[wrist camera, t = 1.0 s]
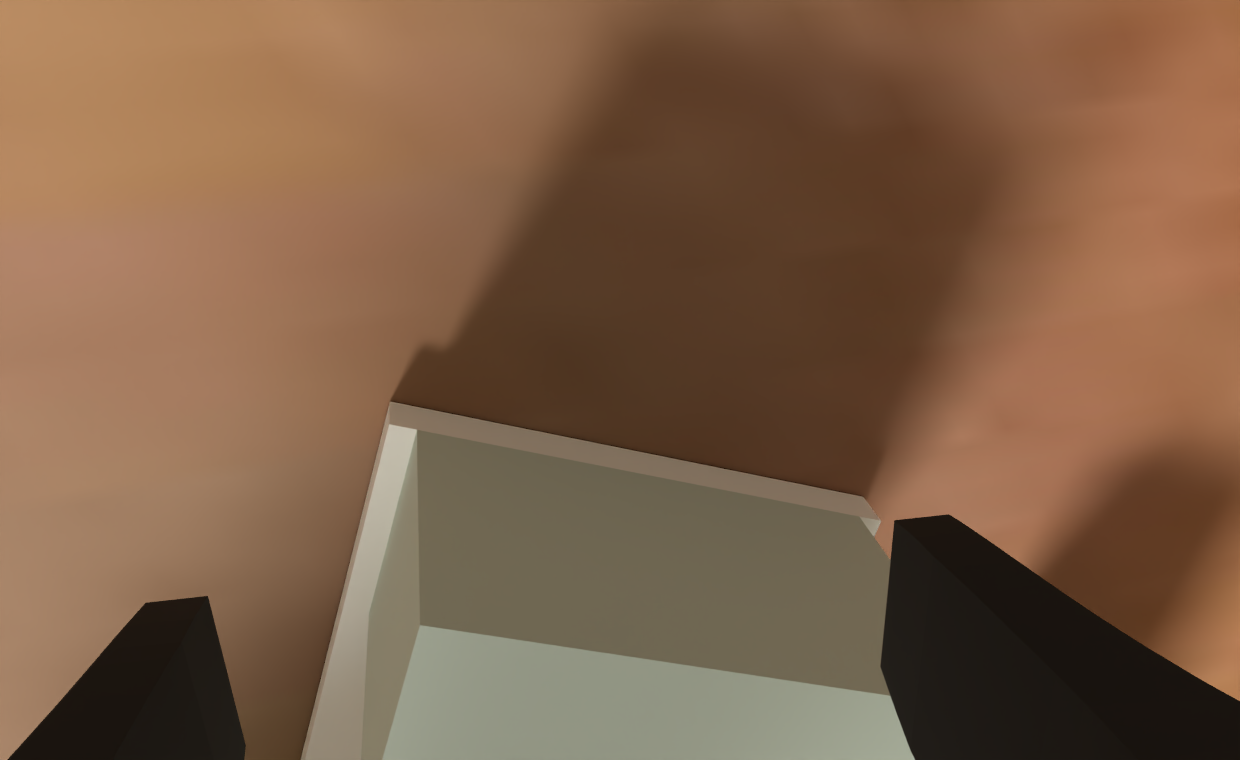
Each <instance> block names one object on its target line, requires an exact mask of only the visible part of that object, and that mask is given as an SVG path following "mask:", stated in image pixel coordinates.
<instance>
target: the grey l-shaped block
mask: <svg viewBox="0 0 1240 760" xmlns="http://www.w3.org/2000/svg"><path fill="white" fill-rule="evenodd" d="M880 522H881V520H880V519H879V517H878V516H877V515H876V513H875V512H874V511H873V509H872V508H871V507H870V505H869V504H868V503H867V501H866V500H865V498H864V497H862V496H857V495H852V494H847V493H842V492H837V491H832V490H827V489H822V488H817V487H812V486H807V485H802V484H797V483H792V482H787V481H782V480H777V479H772V478H767V477H762V476H757V475H752V474H747V473H743V472H738V471H733V470H728V469H723V468H718V467H713V466H708V465H703V464H698V463H693V462H688V461H683V460H678V459H673V458H668V457H663V456H658V455H653V454H648V453H643V452H638V451H633V450H628V449H623V448H618V447H614V446H609V445H604V444H599V443H594V442H589V441H584V440H579V439H574V438H569V437H564V436H559V435H554V434H549V433H544V432H539V431H534V430H529V429H524V428H519V427H514V426H509V425H504V424H499V423H494V422H489V421H485V420H480V419H475V418H470V417H465V416H460V415H455V414H450V413H445V412H440V411H435V410H430V409H425V408H420V407H415V406H410V405H405V404H400V403H395V402H390V404H389V408H388V412H387V416H386V420H385V424H384V428H383V432H382V436H381V440H380V444H379V448H378V452H377V456H376V460H375V464H374V468H373V472H372V476H371V480H370V484H369V488H368V492H367V496H366V500H365V504H364V508H363V512H362V516H361V520H360V524H359V528H358V532H357V536H356V540H355V544H354V548H353V552H352V556H351V560H350V564H349V568H348V572H347V576H346V580H345V584H344V588H343V592H342V596H341V600H340V604H339V608H338V612H337V616H336V620H335V624H334V628H333V632H332V636H331V640H330V644H329V648H328V652H327V656H326V660H325V664H324V668H323V672H322V676H321V680H320V684H319V688H318V692H317V696H316V700H315V704H314V708H313V712H312V716H311V720H310V724H309V728H308V732H307V736H306V740H305V744H304V748H303V752H302V756H301V760H915V759H914V757H913V755H912V753H911V750H910V748H909V745H908V743H907V740H906V737H905V735H904V732H903V729H902V727H901V724H900V721H899V719H898V716H897V713H896V711H895V708H894V705H893V702H892V699H891V696H890V693H889V690H888V687H887V685H886V682H885V679H884V676H883V673H882V670H881V667H880V664H881V654H882V644H883V634H884V624H885V613H886V603H887V593H888V583H889V572H890V562H891V560H890V559H889V557H888V556H887V555H886V553H885V552H884V550H883V549H882V548H881V546H880V545H879V543H878V542H877V541H876V539H875V538H874V536H875V534H876V532H877V529H878V527H879V525H880Z"/></svg>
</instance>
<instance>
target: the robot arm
mask: <svg viewBox="0 0 1240 760" xmlns="http://www.w3.org/2000/svg"><path fill="white" fill-rule="evenodd" d="M880 667H881V670H882V673H883V676H884V679H885V682H886V685H887V687H888V690H889V693H890V696H891V699H892V702H893V705H894V708H895V711H896V713H897V716H898V719H899V721H900V724H901V727H902V729H903V732H904V735H905V737H906V740H907V743H908V745H909V748H910V750H911V753H912V755H913V757H914V759H915V760H1240V701H1238V700H1236V699H1235V698H1233V697H1231V696H1229V695H1227V694H1225V693H1224V692H1222V691H1220V690H1218V689H1216V688H1215V687H1213V686H1211V685H1209V684H1207V683H1206V682H1204V681H1202V680H1200V679H1199V678H1197V677H1195V676H1194V675H1192V674H1190V673H1189V672H1187V671H1185V670H1184V669H1182V668H1180V667H1179V666H1177V665H1175V664H1174V663H1172V662H1170V661H1169V660H1167V659H1165V658H1164V657H1162V656H1160V655H1159V654H1157V653H1155V652H1154V651H1152V650H1150V649H1149V648H1147V647H1145V646H1144V645H1142V644H1140V643H1139V642H1137V641H1136V640H1134V639H1133V638H1131V637H1129V636H1128V635H1126V634H1125V633H1123V632H1122V631H1120V630H1118V629H1117V628H1115V627H1114V626H1112V625H1111V624H1109V623H1108V622H1106V621H1105V620H1103V619H1102V618H1100V617H1098V616H1097V615H1095V614H1094V613H1092V612H1091V611H1089V610H1088V609H1086V608H1085V607H1083V606H1082V605H1080V604H1079V603H1078V602H1076V601H1075V600H1073V599H1072V598H1070V597H1069V596H1067V595H1066V594H1064V593H1063V592H1061V591H1060V590H1058V589H1057V588H1056V587H1054V586H1053V585H1051V584H1050V583H1048V582H1047V581H1045V580H1044V579H1042V578H1041V577H1040V576H1038V575H1037V574H1035V573H1034V572H1032V571H1031V570H1030V569H1028V568H1027V567H1025V566H1024V565H1022V564H1021V563H1020V562H1018V561H1017V560H1015V559H1014V558H1012V557H1011V556H1010V555H1008V554H1007V553H1005V552H1004V551H1002V550H1001V549H1000V548H998V547H997V546H995V545H994V544H992V543H991V542H990V541H988V540H987V539H985V538H984V537H982V536H981V535H979V534H978V533H977V532H975V531H974V530H972V529H971V528H969V527H968V526H966V525H965V524H963V523H962V522H960V521H958V520H957V519H955V518H954V517H952V516H951V515H940V516H931V517H921V518H912V519H903V520H895V521H894V531H893V542H892V552H891V562H890V572H889V583H888V593H887V603H886V613H885V624H884V634H883V644H882V654H881V664H880ZM245 746H246V745H245V741H244V737H243V733H242V729H241V726H240V722H239V718H238V714H237V710H236V706H235V702H234V698H233V694H232V690H231V686H230V682H229V678H228V674H227V670H226V666H225V662H224V658H223V654H222V650H221V646H220V643H219V639H218V635H217V631H216V627H215V623H214V619H213V615H212V611H211V607H210V603H209V599H208V596H204V597H195V598H186V599H177V600H168V601H159V602H149V603H145V604H144V605H143V607H142V608H141V609H140V610H139V611H138V612H137V613H136V614H135V616H134V617H133V618H132V619H131V620H130V621H129V622H128V623H127V624H126V626H125V627H124V628H123V629H122V630H121V631H120V632H119V633H118V635H117V636H116V637H115V638H114V639H113V640H112V642H111V643H110V644H109V645H108V646H107V647H106V649H105V650H104V651H103V652H102V653H101V654H100V656H99V657H98V658H97V659H96V660H95V661H94V663H93V664H92V665H91V666H90V667H89V668H88V670H87V671H86V672H85V673H84V674H83V675H82V677H81V678H80V679H79V680H78V681H77V682H76V683H75V685H74V686H73V687H72V688H71V689H70V690H69V692H68V693H67V694H66V695H65V696H64V697H63V699H62V700H61V701H60V702H59V703H58V704H57V705H56V706H55V708H54V709H53V710H52V711H51V712H50V713H49V714H48V715H47V716H46V718H45V719H44V720H43V721H42V722H41V723H40V724H39V725H38V726H37V728H36V729H35V730H34V731H33V732H32V733H31V734H30V735H29V737H28V738H27V739H26V740H25V741H24V742H23V743H22V744H21V745H20V747H19V748H18V749H17V750H16V751H15V752H14V753H13V754H12V755H11V757H10V758H9V759H8V760H244V756H245Z"/></svg>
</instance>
